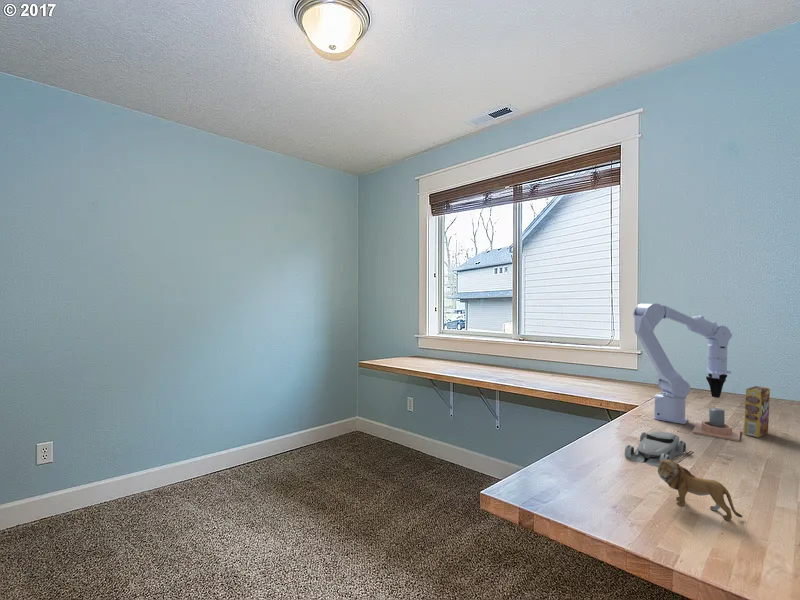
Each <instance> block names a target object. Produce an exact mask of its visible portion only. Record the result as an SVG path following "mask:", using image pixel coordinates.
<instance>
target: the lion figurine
mask: <svg viewBox="0 0 800 600" xmlns="http://www.w3.org/2000/svg"><path fill="white" fill-rule="evenodd" d="M657 473H658V476H659V477H660V479H661V480H663V482H665V483H666V484H667V485H668V487H669V488H671V489H672V490H677V491H678V496H677V497H675V500H676V501H677V502H676V505H677V506H679V507H684V506H685V505H686V496H687V494H688V493H690V494H693V495H696V496H703V497H704V496H708V495H709V496H710V497H711V499H712V500H713V501H714V502H715V505H711V506H710V508H709V509H710V510H712V511H718V510H719V509H722V510H723V511H724V512H725V515H724V514H723V516H722V518H723V519H724V520H726V521H731V520H732V517H733V516H732V515H733V514H734V515H735V516H737V518H743V515H741V514H740V512H737V511H736V509H735V507H734V503H733V499H732V496H731V494H730V493H729V490H728V489H727V488H726V487H725V485H723V484H722V483H721V482H719V481H717V480H714V479H707V478H700V477H697V476H695V475H693V474H692V473H691V472H690V470H688V469H687V468H685V467H683V466H681V465H680V464H679V463H677V462H675V461H674V460H672V459H671V460H666V459H665V460H662V461H659V467H657ZM724 495H725V496H726V498H727V501H728V504H729V506H728V505H727V503H726V501H725V498H724ZM732 513H733V514H732Z"/></svg>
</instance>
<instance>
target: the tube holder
mask: <svg viewBox="0 0 800 600" xmlns="http://www.w3.org/2000/svg"><path fill="white" fill-rule="evenodd" d="M695 433H698V434H697V435H701V434H703V435H702V436H706V435H708V436H707V437H712V436H714V437H713V438H717V437H718V439H723V438H724V439H723V440H728V441H734V442H740V441H741V430H740V429H734V428H733V426H732V425H730V424H727V423H725V428H719V427H713V426H709V420H704V421H702V422H701V423H699V422H695V425H694V427H693V430H692V434H695Z"/></svg>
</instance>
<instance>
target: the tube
mask: <svg viewBox="0 0 800 600" xmlns="http://www.w3.org/2000/svg"><path fill="white" fill-rule="evenodd" d="M725 416H726V415H725V410H724V409H722V408H716V407H710V408H709V416H708V417H709V420H708V421H709V426H713V427H719V428H725V424H726V423H725V422H726V421H725V419H726V418H725Z"/></svg>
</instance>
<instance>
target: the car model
mask: <svg viewBox="0 0 800 600" xmlns="http://www.w3.org/2000/svg"><path fill="white" fill-rule="evenodd" d="M639 436H640V437H639V444H638V446H637V447H636V449H635V447H634V446H633V445H632V444H626V446H625V448H624V456H625V458H627V459H628V460H631V461H634V462H638V463H645V464H646V465H648V466H651V467H657V468H658V467H659V461H662V460H665V459H666V460H671V461H672V459H674V458H675V457H676V456H680V455H685V453H686V451H687V442H686V441H684V440H680V437H679V435H677V434H675V433H672V432H668V431H660V430H659V431H658V430H656V431H655V430H654V431H653V432H652V431H651V432H650V433H648V432H641V433H640V435H639ZM684 452H685V453H684Z"/></svg>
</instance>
